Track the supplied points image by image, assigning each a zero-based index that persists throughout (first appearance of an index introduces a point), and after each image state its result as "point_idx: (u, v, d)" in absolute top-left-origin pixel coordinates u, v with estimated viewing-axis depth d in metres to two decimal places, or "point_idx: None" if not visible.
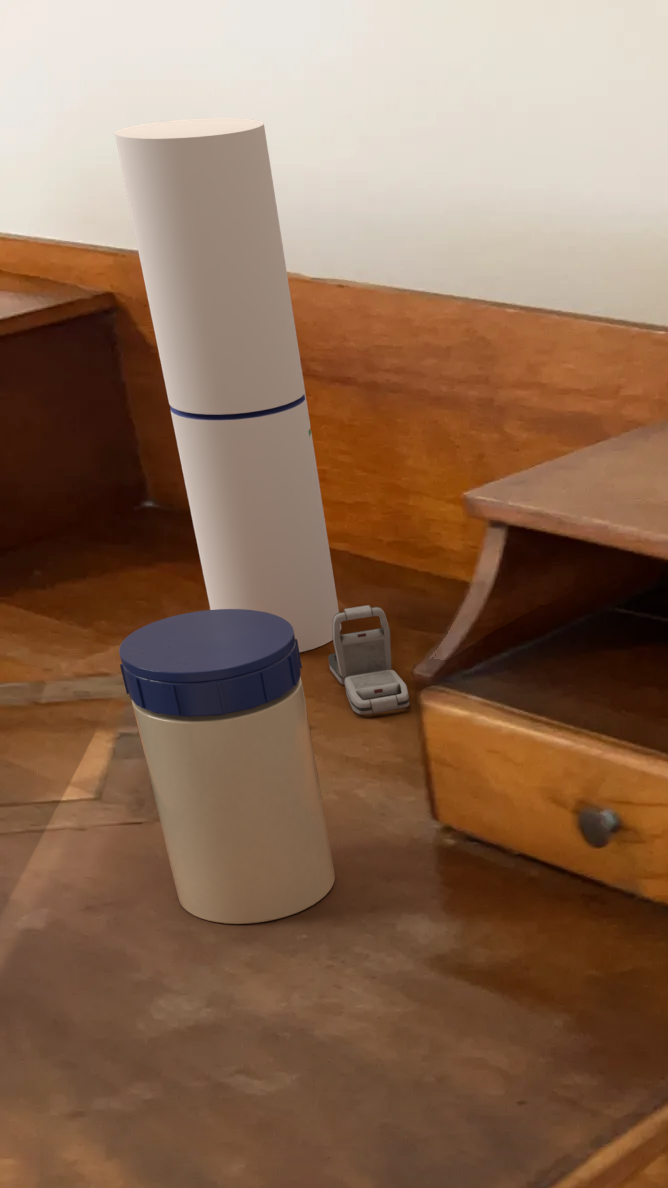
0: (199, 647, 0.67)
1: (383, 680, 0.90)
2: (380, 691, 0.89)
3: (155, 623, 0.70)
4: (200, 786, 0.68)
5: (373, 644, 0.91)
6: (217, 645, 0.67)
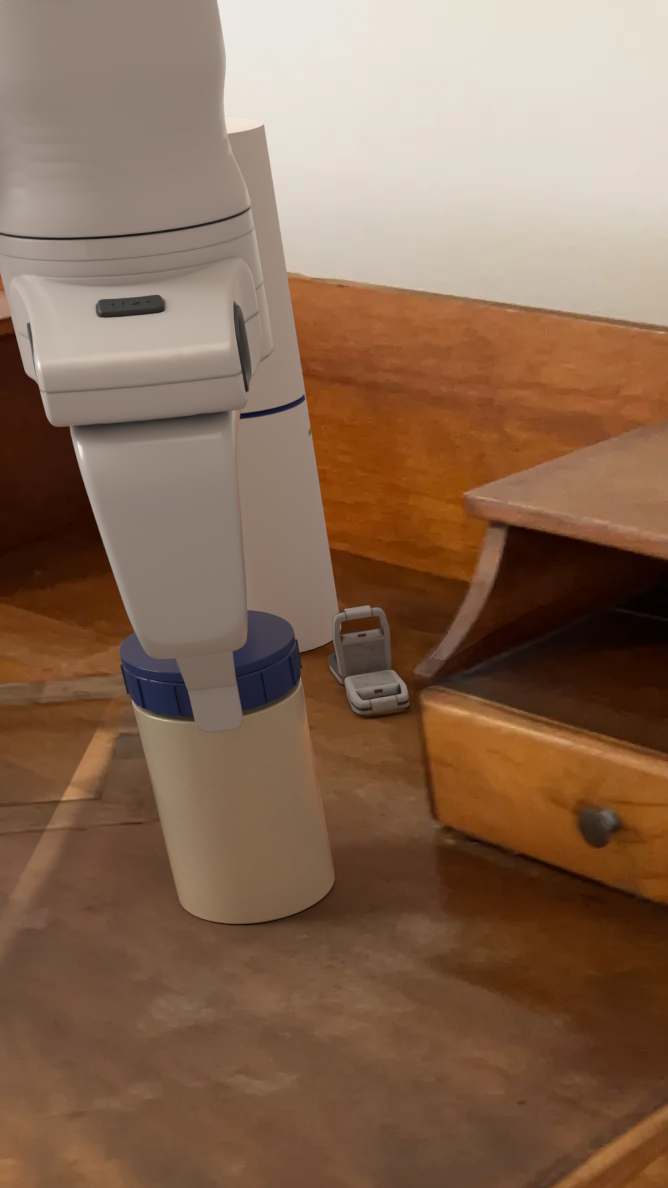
0: None
1: (383, 680, 0.90)
2: (380, 691, 0.89)
3: None
4: (201, 786, 0.68)
5: (373, 644, 0.91)
6: None
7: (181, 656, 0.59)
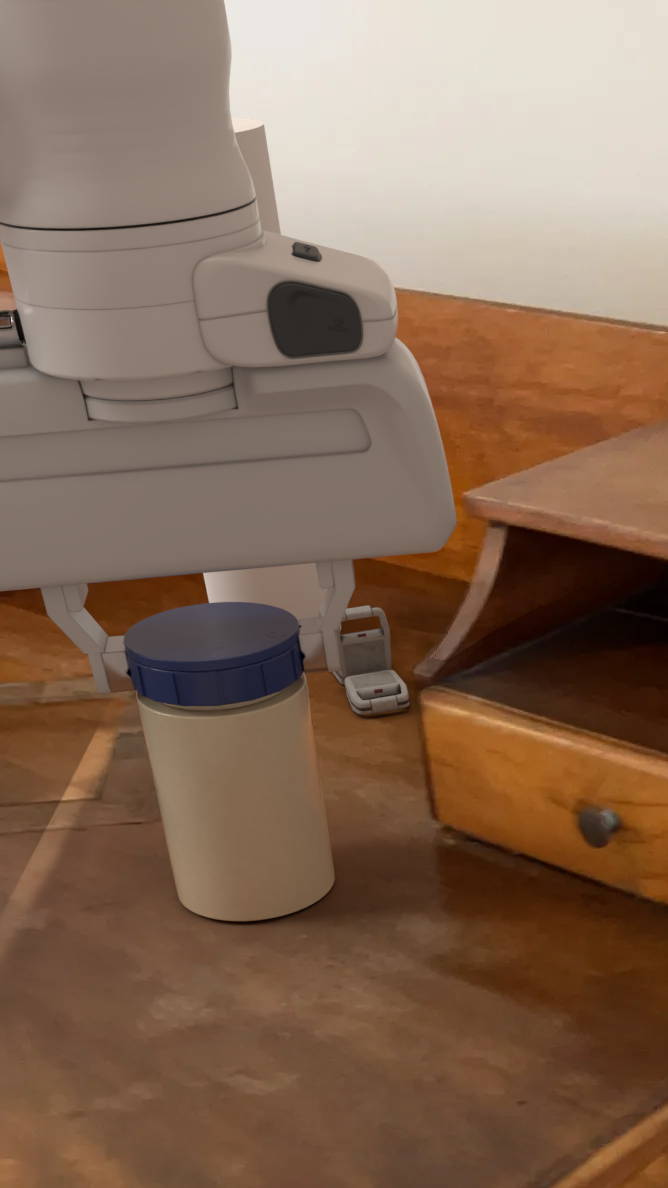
0: (232, 631, 0.68)
1: (383, 680, 0.90)
2: (380, 691, 0.89)
3: (143, 653, 0.66)
4: (203, 782, 0.68)
5: (373, 644, 0.91)
6: (232, 625, 0.68)
7: None
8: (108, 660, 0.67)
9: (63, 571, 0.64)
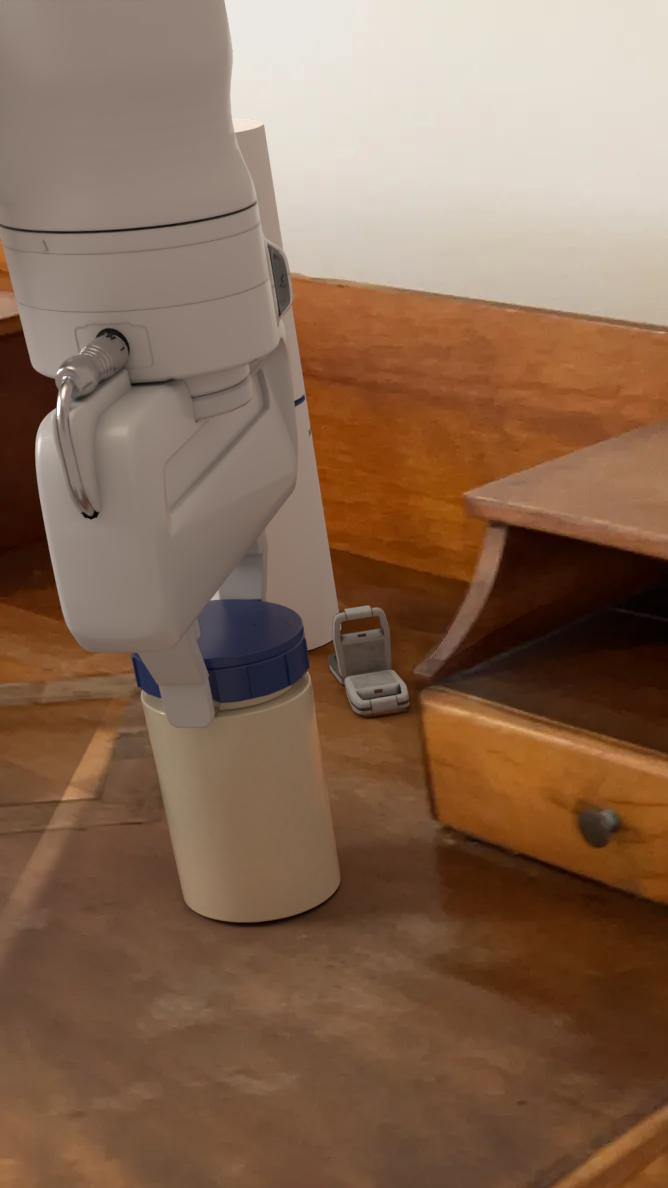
0: (228, 620, 0.69)
1: (383, 680, 0.90)
2: (380, 691, 0.89)
3: (250, 651, 0.66)
4: (217, 783, 0.68)
5: (373, 644, 0.91)
6: (211, 620, 0.69)
7: None
8: (211, 683, 0.65)
9: (209, 589, 0.62)
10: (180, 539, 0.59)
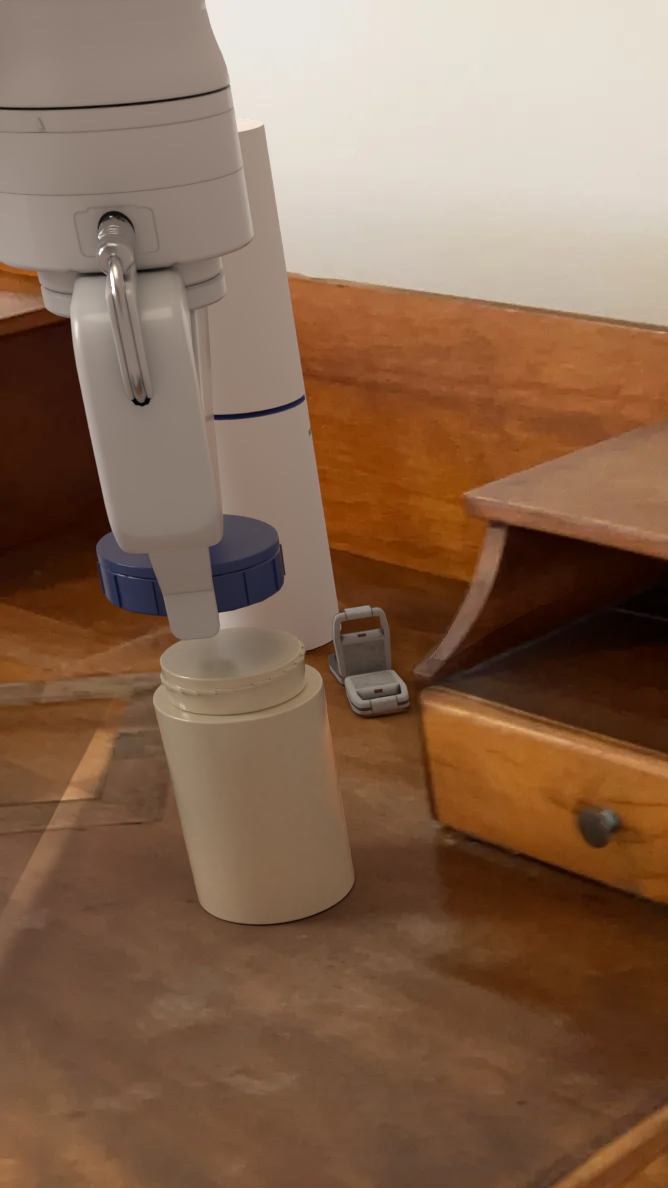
0: None
1: (383, 680, 0.90)
2: (380, 691, 0.89)
3: (243, 556, 0.64)
4: (247, 786, 0.68)
5: (373, 644, 0.91)
6: None
7: None
8: (214, 591, 0.63)
9: None
10: (207, 430, 0.57)
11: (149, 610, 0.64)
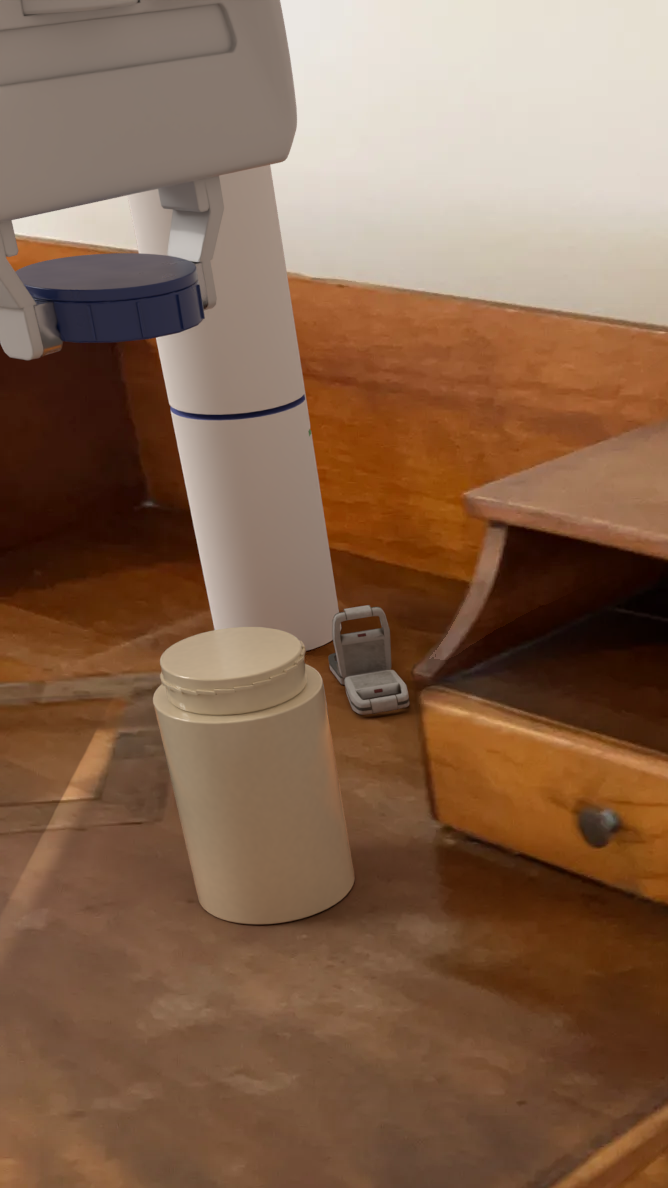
0: (126, 268, 0.66)
1: (383, 680, 0.90)
2: (380, 691, 0.89)
3: (92, 289, 0.63)
4: (247, 786, 0.68)
5: (373, 643, 0.91)
6: (113, 265, 0.66)
7: None
8: (40, 314, 0.63)
9: (14, 200, 0.60)
10: None
11: None
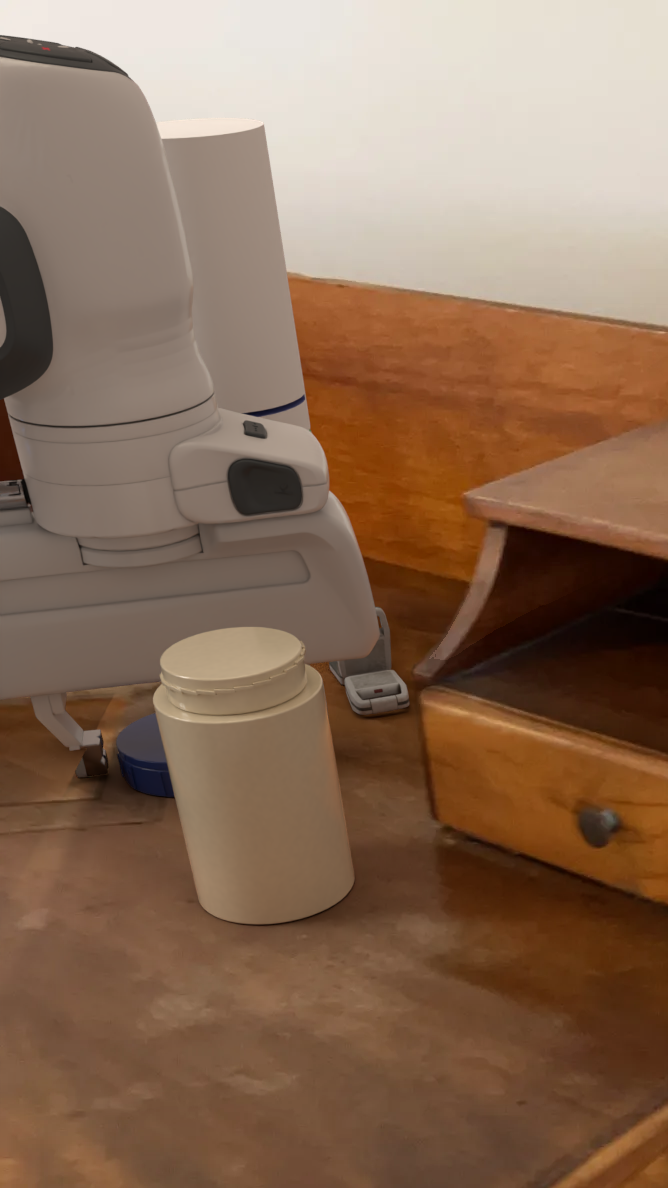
0: None
1: (383, 680, 0.90)
2: (380, 691, 0.89)
3: (135, 756, 0.82)
4: (247, 786, 0.68)
5: None
6: None
7: None
8: (85, 751, 0.82)
9: (62, 682, 0.79)
10: (7, 636, 0.78)
11: None
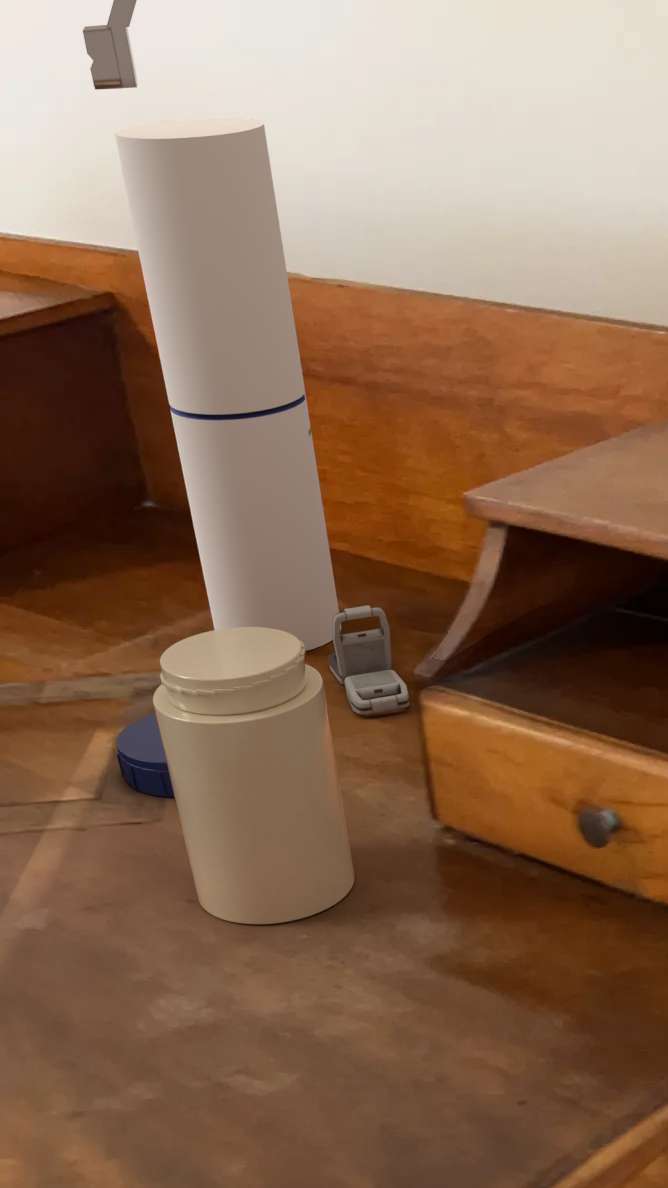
0: None
1: (383, 680, 0.90)
2: (380, 691, 0.89)
3: (135, 756, 0.82)
4: (247, 786, 0.68)
5: (373, 644, 0.91)
6: None
7: None
8: None
9: None
10: None
11: None
